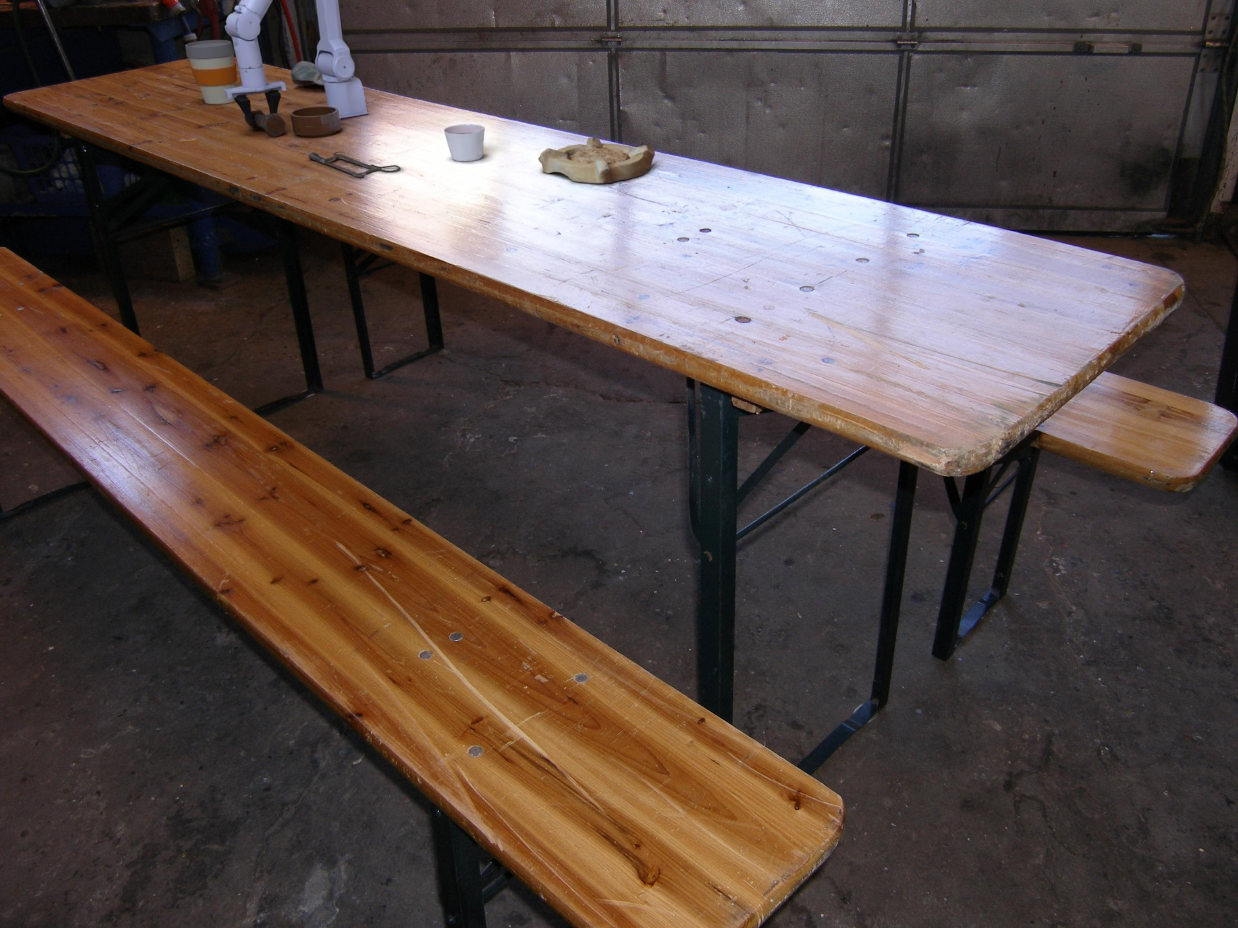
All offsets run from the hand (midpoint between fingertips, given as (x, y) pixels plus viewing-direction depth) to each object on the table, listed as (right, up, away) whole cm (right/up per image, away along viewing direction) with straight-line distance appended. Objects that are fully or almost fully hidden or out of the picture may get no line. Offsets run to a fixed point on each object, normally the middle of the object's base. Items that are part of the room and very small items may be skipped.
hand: (263, 124), depth 242 cm
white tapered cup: (+55, -16, -24) cm, 62 cm away
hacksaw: (+30, -19, -27) cm, 44 cm away
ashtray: (+85, -22, -33) cm, 94 cm away
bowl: (+14, -2, -1) cm, 14 cm away
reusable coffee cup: (-24, +18, +33) cm, 44 cm away
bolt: (0, -1, +1) cm, 2 cm away
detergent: (+4, +25, +42) cm, 49 cm away
